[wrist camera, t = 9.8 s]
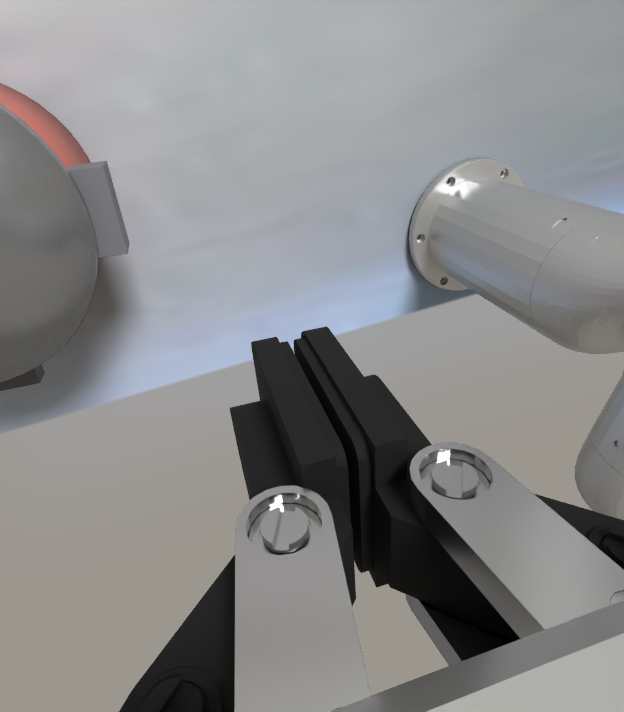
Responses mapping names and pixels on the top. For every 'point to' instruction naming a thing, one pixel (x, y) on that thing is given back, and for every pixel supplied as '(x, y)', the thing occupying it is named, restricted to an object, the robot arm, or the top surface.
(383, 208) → the top surface
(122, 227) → the cooker pot
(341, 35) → the top surface
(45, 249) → the cooker lid
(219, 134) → the top surface
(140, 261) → the top surface
